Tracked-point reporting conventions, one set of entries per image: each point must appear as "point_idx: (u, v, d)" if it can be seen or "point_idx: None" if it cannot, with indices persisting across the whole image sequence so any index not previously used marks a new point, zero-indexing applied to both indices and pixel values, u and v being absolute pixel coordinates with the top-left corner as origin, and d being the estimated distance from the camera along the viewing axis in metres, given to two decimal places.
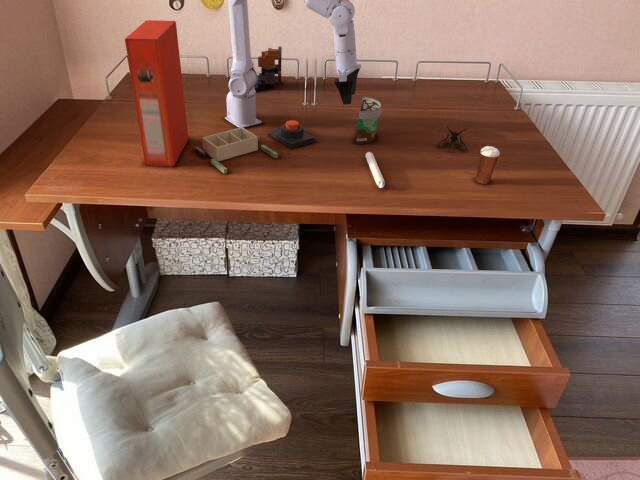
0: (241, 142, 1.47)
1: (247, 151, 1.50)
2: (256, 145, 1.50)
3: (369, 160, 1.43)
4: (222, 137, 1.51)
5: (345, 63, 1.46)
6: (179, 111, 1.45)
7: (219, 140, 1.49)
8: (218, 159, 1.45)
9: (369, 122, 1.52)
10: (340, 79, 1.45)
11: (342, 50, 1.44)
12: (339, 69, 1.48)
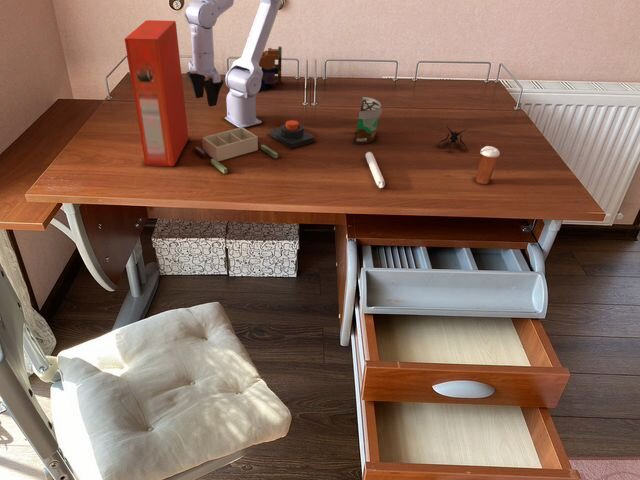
0: (241, 142, 1.47)
1: (247, 151, 1.50)
2: (256, 145, 1.50)
3: (369, 160, 1.43)
4: (222, 137, 1.51)
5: None
6: (179, 111, 1.45)
7: (219, 140, 1.49)
8: (218, 159, 1.45)
9: (369, 122, 1.52)
10: None
11: None
12: None
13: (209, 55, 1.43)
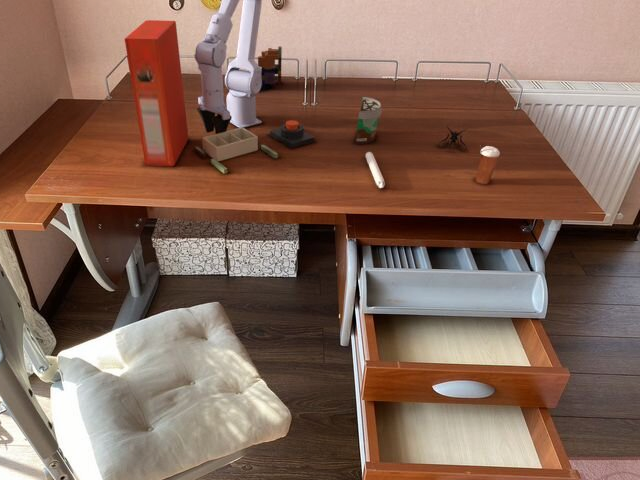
0: (241, 142, 1.47)
1: (247, 151, 1.49)
2: (256, 145, 1.50)
3: (369, 160, 1.43)
4: (222, 137, 1.51)
5: None
6: (179, 111, 1.45)
7: (219, 140, 1.49)
8: (218, 159, 1.45)
9: (369, 122, 1.52)
10: None
11: None
12: None
13: (218, 93, 1.46)
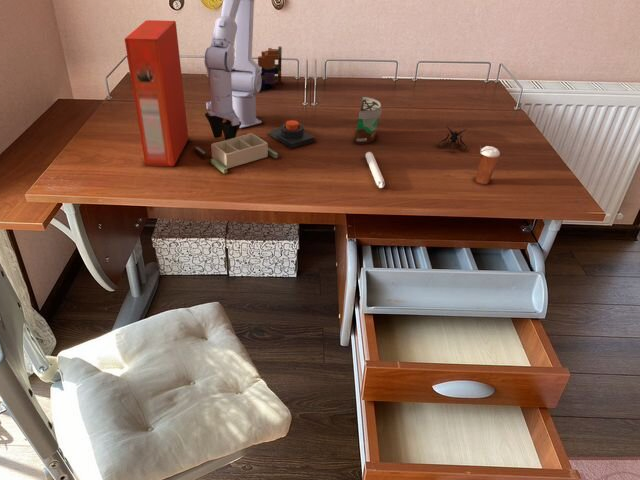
0: (251, 149, 1.44)
1: (257, 158, 1.46)
2: (266, 152, 1.47)
3: (369, 160, 1.43)
4: (231, 143, 1.48)
5: None
6: (179, 111, 1.45)
7: (228, 146, 1.46)
8: (227, 166, 1.42)
9: (369, 122, 1.52)
10: None
11: None
12: None
13: (228, 98, 1.43)
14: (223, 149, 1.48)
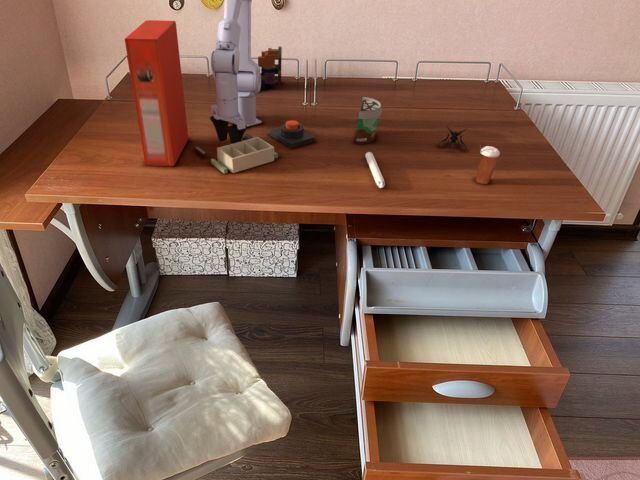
0: (257, 153, 1.42)
1: (263, 162, 1.44)
2: (272, 156, 1.45)
3: (369, 160, 1.43)
4: (237, 147, 1.46)
5: None
6: (179, 111, 1.45)
7: (234, 150, 1.44)
8: (233, 170, 1.40)
9: (369, 122, 1.52)
10: None
11: None
12: None
13: (233, 101, 1.41)
14: (229, 153, 1.46)
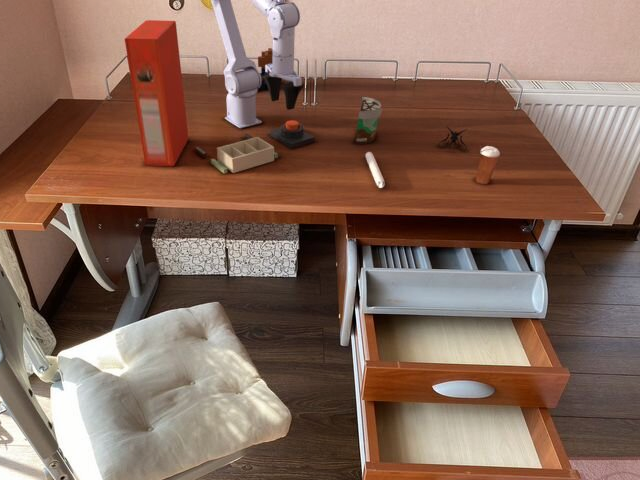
0: (257, 153, 1.42)
1: (263, 162, 1.44)
2: (272, 156, 1.45)
3: (369, 160, 1.43)
4: (237, 147, 1.46)
5: None
6: (179, 111, 1.45)
7: (234, 150, 1.44)
8: (233, 170, 1.40)
9: (369, 122, 1.52)
10: None
11: (274, 53, 1.41)
12: None
13: (290, 58, 1.41)
14: (229, 153, 1.46)
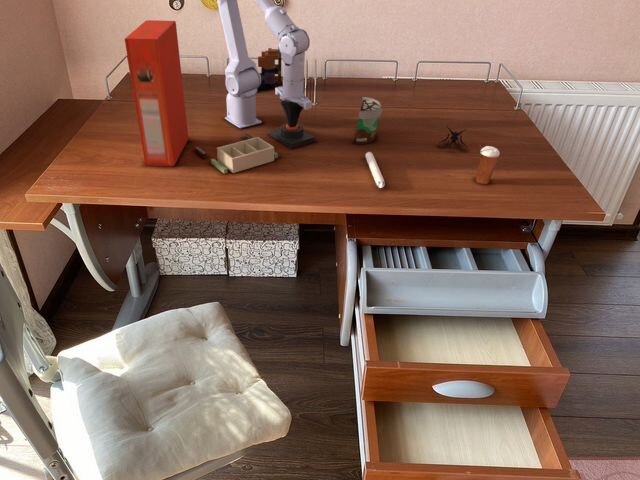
0: (257, 153, 1.42)
1: (263, 162, 1.44)
2: (272, 156, 1.45)
3: (369, 160, 1.43)
4: (237, 147, 1.46)
5: None
6: (179, 111, 1.45)
7: (234, 150, 1.44)
8: (233, 170, 1.40)
9: (369, 122, 1.52)
10: None
11: (286, 78, 1.45)
12: None
13: (300, 82, 1.46)
14: (229, 153, 1.46)
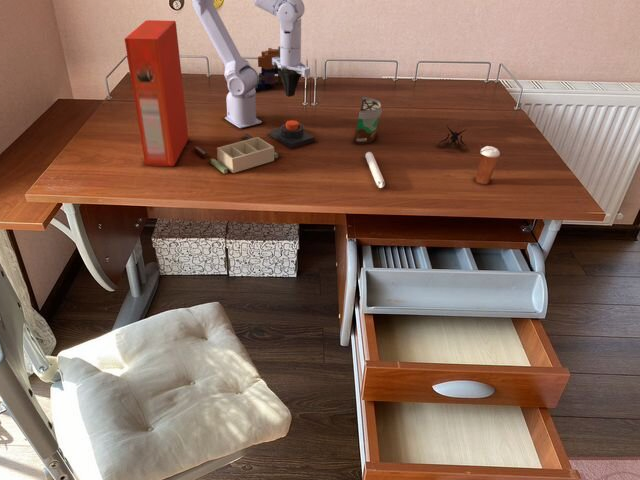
0: (257, 153, 1.42)
1: (263, 162, 1.44)
2: (272, 156, 1.45)
3: (369, 160, 1.43)
4: (237, 147, 1.46)
5: None
6: (179, 111, 1.45)
7: (234, 150, 1.44)
8: (233, 170, 1.40)
9: (369, 122, 1.52)
10: None
11: (286, 46, 1.46)
12: None
13: (298, 50, 1.47)
14: (229, 153, 1.46)
